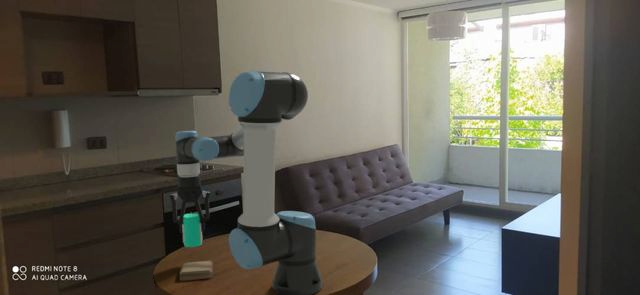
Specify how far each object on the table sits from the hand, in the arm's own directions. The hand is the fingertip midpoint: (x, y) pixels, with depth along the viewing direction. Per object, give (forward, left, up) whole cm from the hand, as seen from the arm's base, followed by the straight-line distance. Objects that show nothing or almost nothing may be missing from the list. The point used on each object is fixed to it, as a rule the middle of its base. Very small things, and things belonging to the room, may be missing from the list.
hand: (192, 241), depth 161 cm
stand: (-10, -2, -8) cm, 13 cm away
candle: (0, 0, -2) cm, 2 cm away
